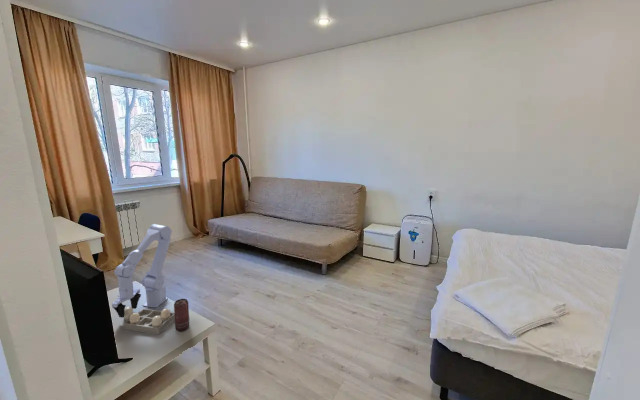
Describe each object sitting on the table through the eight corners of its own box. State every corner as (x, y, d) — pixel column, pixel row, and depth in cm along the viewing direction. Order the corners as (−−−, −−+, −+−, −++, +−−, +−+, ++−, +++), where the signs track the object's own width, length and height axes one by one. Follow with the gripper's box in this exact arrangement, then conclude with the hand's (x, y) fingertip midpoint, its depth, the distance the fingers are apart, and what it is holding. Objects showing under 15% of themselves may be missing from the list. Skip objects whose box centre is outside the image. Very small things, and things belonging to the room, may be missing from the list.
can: (184, 333, 127) (182, 306, 124) (172, 330, 128) (170, 304, 125) (192, 325, 132) (191, 299, 130) (181, 323, 134) (179, 297, 131)
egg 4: (165, 316, 136) (164, 306, 135) (172, 317, 136) (171, 307, 135) (159, 321, 133) (158, 311, 132) (166, 322, 132) (166, 312, 131)
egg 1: (128, 314, 138) (127, 304, 137) (135, 315, 138) (134, 305, 137) (121, 319, 134) (120, 309, 133) (129, 320, 134) (128, 310, 133)
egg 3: (156, 323, 131) (155, 313, 130) (164, 324, 130) (163, 314, 129) (150, 329, 127) (149, 318, 126) (158, 330, 126) (157, 319, 125)
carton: (143, 313, 139) (143, 308, 139) (176, 318, 137) (175, 312, 137) (123, 329, 127) (123, 323, 127) (158, 334, 125) (158, 328, 125)
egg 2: (134, 320, 132) (133, 310, 131) (142, 321, 132) (141, 311, 131) (128, 325, 128) (127, 315, 127) (135, 327, 128) (134, 316, 127)
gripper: (130, 280, 141) (132, 303, 143) (105, 294, 126) (108, 320, 129) (143, 281, 140) (144, 305, 142) (118, 295, 126) (121, 322, 128)
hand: (128, 312), depth 135 cm, fingers open, 7 cm apart
